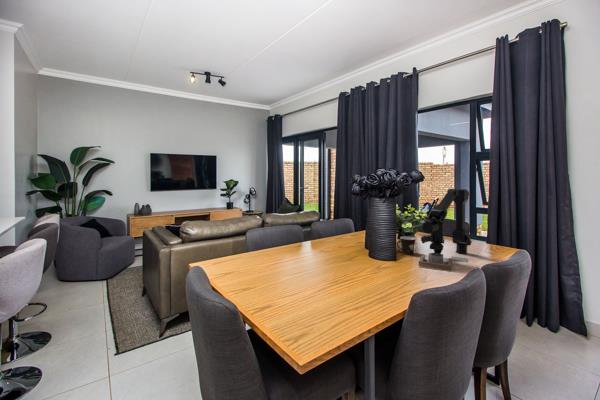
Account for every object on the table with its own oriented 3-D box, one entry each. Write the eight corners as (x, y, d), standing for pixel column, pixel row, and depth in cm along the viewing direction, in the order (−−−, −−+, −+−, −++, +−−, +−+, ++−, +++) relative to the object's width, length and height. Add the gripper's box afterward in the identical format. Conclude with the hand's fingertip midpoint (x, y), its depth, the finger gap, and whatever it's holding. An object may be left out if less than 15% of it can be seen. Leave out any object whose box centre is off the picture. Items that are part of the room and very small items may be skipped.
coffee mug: (412, 252, 178) (413, 236, 177) (417, 256, 169) (417, 239, 168) (393, 252, 179) (393, 236, 178) (396, 255, 170) (397, 239, 169)
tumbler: (429, 262, 157) (429, 252, 156) (443, 264, 153) (443, 253, 153) (427, 266, 151) (428, 255, 150) (442, 268, 147) (442, 257, 147)
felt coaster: (451, 257, 166) (451, 256, 166) (467, 259, 162) (467, 258, 162) (451, 261, 159) (451, 259, 159) (467, 263, 155) (467, 261, 155)
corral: (421, 259, 162) (422, 254, 162) (451, 263, 155) (452, 258, 154) (418, 267, 149) (418, 261, 149) (450, 271, 142) (451, 266, 142)
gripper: (423, 226, 169) (423, 252, 170) (419, 232, 152) (419, 261, 154) (444, 228, 163) (444, 255, 165) (443, 234, 147) (442, 264, 148)
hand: (436, 258), depth 158 cm, fingers closed
